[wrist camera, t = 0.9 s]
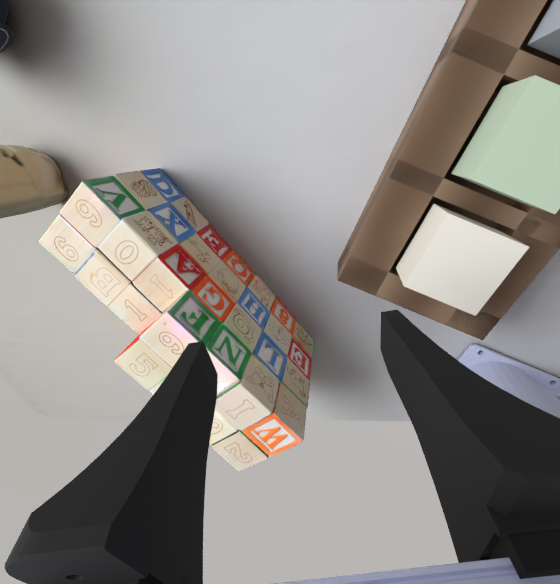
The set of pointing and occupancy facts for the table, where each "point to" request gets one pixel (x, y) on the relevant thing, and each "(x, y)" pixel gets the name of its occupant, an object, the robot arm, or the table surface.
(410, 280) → the cream key
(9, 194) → the cream rounded block
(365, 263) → the key console
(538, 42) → the slate grey key
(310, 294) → the table surface
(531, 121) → the sage green key
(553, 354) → the table surface
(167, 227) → the stack of blocks
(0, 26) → the headphones
